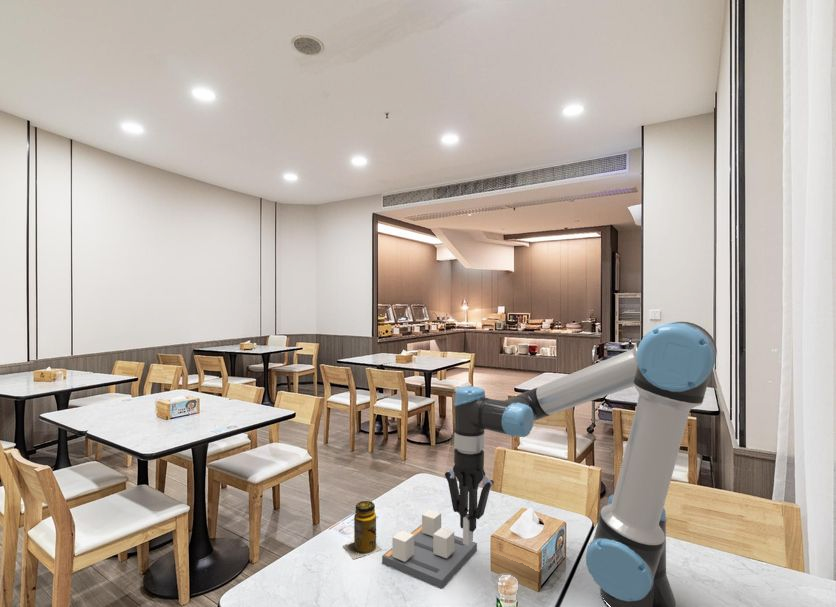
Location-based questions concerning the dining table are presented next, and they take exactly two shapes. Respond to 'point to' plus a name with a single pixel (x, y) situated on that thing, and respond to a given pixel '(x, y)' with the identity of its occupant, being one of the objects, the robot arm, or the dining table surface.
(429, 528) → the block
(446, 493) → the dining table surface
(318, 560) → the dining table surface
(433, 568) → the grey slotted panel board
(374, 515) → the condiment
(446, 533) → the block
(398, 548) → the block
